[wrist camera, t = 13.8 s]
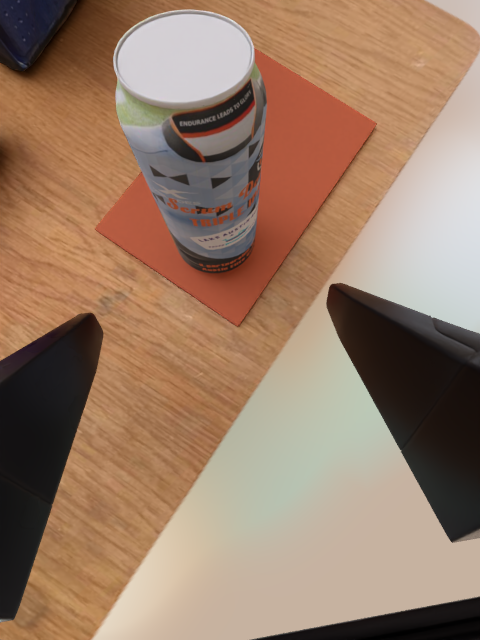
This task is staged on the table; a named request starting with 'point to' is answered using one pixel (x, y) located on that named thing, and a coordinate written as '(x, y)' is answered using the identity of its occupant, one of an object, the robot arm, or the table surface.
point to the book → (29, 28)
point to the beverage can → (196, 129)
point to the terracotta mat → (274, 195)
